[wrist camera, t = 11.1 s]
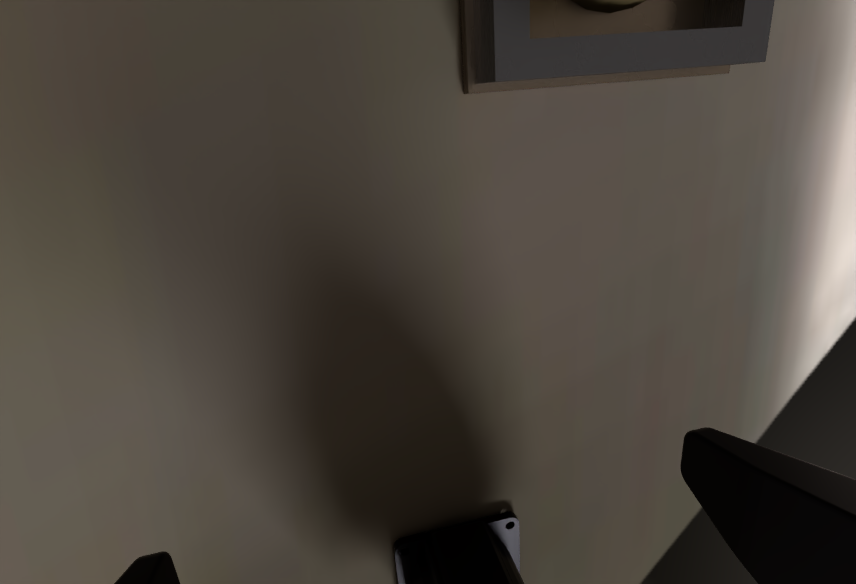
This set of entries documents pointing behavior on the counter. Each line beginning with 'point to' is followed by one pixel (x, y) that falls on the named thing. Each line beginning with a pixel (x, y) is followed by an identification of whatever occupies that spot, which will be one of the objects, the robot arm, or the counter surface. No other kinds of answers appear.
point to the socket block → (606, 41)
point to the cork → (608, 5)
